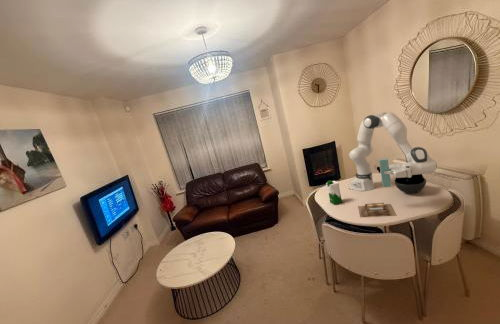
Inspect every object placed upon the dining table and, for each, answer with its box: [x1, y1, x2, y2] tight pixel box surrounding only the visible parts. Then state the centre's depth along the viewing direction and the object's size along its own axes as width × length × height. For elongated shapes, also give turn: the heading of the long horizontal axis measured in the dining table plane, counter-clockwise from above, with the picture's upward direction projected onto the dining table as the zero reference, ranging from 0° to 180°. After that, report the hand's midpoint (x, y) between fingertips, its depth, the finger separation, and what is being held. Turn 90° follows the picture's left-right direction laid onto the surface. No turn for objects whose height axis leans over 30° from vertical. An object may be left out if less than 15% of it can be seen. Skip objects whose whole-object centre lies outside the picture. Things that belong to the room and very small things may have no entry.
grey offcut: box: [370, 207, 383, 211], centre depth 153 cm, size 8×2×4 cm, turn 68°
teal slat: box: [378, 158, 392, 188], centre depth 155 cm, size 5×2×20 cm, turn 69°
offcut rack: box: [357, 202, 398, 218], centre depth 157 cm, size 22×18×4 cm
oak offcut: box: [367, 203, 384, 209], centre depth 156 cm, size 10×2×5 cm, turn 68°
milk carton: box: [325, 180, 343, 206], centre depth 186 cm, size 9×9×20 cm
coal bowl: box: [394, 174, 427, 194], centre depth 171 cm, size 20×20×19 cm
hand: (383, 171), depth 155 cm, fingers closed on teal slat, 2 cm apart
